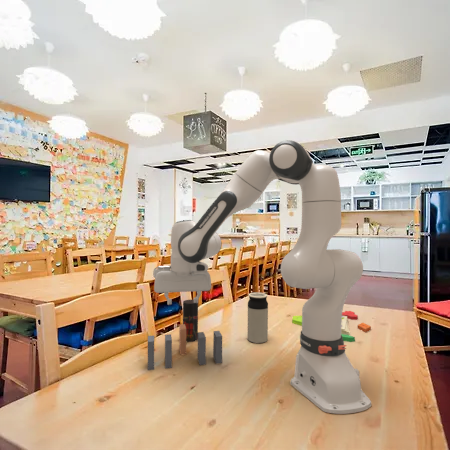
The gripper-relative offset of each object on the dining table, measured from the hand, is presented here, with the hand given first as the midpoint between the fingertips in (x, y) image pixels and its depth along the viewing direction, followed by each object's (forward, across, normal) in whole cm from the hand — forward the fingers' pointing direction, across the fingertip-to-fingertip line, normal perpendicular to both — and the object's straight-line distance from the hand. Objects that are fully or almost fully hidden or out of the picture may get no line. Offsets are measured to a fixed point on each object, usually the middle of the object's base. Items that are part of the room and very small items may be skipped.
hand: (182, 303), depth 111 cm
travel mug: (+18, +30, +5) cm, 35 cm away
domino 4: (+17, +6, -9) cm, 20 cm away
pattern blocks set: (+18, +68, +15) cm, 72 cm away
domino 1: (+17, -11, -10) cm, 22 cm away
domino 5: (+17, +11, -9) cm, 22 cm away
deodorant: (+18, +4, +11) cm, 21 cm away
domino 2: (+17, -5, -10) cm, 20 cm away
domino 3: (+17, 0, 0) cm, 17 cm away
